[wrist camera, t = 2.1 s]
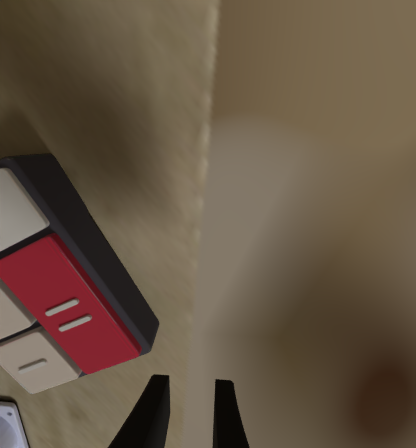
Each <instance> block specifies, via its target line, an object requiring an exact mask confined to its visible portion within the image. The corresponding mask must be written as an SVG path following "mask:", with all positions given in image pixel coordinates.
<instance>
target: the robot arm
mask: <svg viewBox="0 0 416 448" xmlns="http://www.w3.org/2000/svg"><path fill="white" fill-rule="evenodd" d="M169 417H170V387H169V375H156V374H154V375H153V376H152V377H151V378H150V380H149V382H148V384H147V386H146V388H145V390H144V391H143V393H142V395H141V397H140V398H139V400H138V402H137V403H136V405H135V407H134V408H133V410H132V412H131V413H130V415H129V416H128V418H127V419H126V421H125V423H124V424H123V426H122V427H121V429H120V430H119V432H118V433H117V435H116V436H115V438H114V439H113V441H112V442H111V444H110V445H109V447H108V448H164V446H165V441H166V435H167V429H168V423H169ZM0 448H29V447H28V444H27V440H26V437H25V433H24V430H23V427H22V423H21V420H20V417H19V413H18V410H17V407H16V405H15V404H14V403H11V402H0ZM213 448H249V444H248V441H247V438H246V435H245V432H244V428H243V425H242V421H241V417H240V413H239V409H238V405H237V400H236V395H235V390H234V383H233V382H232V381H230V380H219V379H216V382H215V402H214V425H213Z"/></svg>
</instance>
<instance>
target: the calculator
mask: <svg viewBox="0 0 416 448" xmlns="http://www.w3.org/2000/svg"><path fill="white" fill-rule="evenodd" d="M158 327H159V321H158V319H157V318H156V316H155V315H154V313H153V311H152V310H151V308H150V307H149V305H148V303H147V302H146V300H145V299H144V297H143V296H142V294H141V292H140V291H139V289H138V288H137V286H136V285H135V283H134V281H133V280H132V278H131V277H130V275H129V274H128V272H127V270H126V269H125V267H124V266H123V264H122V263H121V261H120V260H119V258H118V257H117V255H116V254H115V252H114V251H113V250H112V248H111V247H110V245H109V244H108V242H107V241H106V239H105V238H104V236H103V235H102V233H101V232H100V230H99V229H98V227H97V226H96V224H95V223H94V221H93V220H92V218H91V217H90V216H89V214H88V210H87V207H86V205H85V204H84V202H83V201H82V199H81V197H80V196H79V194H78V193H77V191H76V190H75V188H74V186H73V185H72V183H71V182H70V180H69V178H68V177H67V175H66V174H65V172H64V171H63V169H62V167H61V166H60V164H59V163H58V161H57V160H56V158H55V157H54V156H53V155H52V154H34V155H20V156H8V157H4V158H2V159H0V365H1V366H2V367H3V368H4V369H5V370H6V371H7V372H8V373H9V374H10V375H11V376H12V377H13V378H14V379H15V380H16V381H17V382H18V383H19V384H20V385H21V386H22V387H23V388H24V389H25V390H26V391H27V392H29V393H30V394H34V393H37V392H40V391H43V390H46V389H49V388H52V387H54V386H57V385H60V384H63V383H66V382H69V381H71V380H74V379H77V378H79V377H82V376H84V375H87V374H91V373H94V372H97V371H100V370H103V369H105V368H108V367H111V366H114V365H117V364H120V363H122V362H125V361H128V360H131V359H134V358H136V357H138V356H141V355H144V354H147V353H149V352H150V351H151V349H152V346H153V343H154V339H155V336H156V333H157V330H158Z"/></svg>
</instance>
